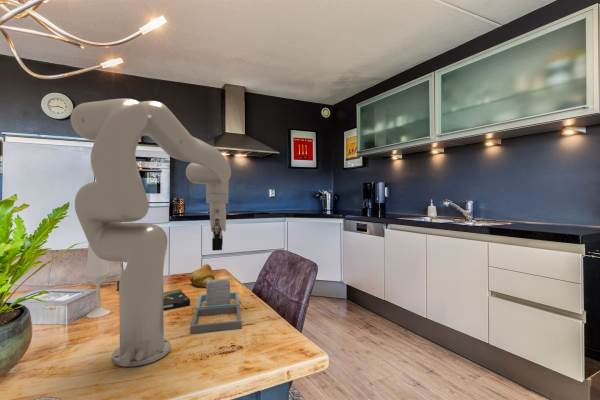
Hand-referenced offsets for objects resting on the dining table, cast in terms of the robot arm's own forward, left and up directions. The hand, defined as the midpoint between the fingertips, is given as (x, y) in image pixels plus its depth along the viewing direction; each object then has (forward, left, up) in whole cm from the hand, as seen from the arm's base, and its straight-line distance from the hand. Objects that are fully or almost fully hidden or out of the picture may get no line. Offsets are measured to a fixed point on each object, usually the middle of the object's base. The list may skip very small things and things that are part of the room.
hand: (217, 248), depth 109 cm
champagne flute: (+1, +38, -20) cm, 43 cm away
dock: (-7, 0, -20) cm, 21 cm away
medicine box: (0, 0, -20) cm, 20 cm away
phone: (+35, +39, -21) cm, 56 cm away
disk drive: (+7, +17, -21) cm, 28 cm away
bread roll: (+28, +7, -20) cm, 35 cm away
